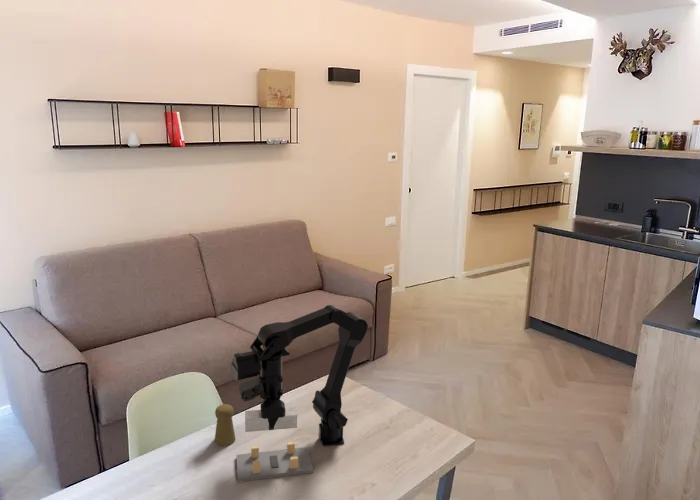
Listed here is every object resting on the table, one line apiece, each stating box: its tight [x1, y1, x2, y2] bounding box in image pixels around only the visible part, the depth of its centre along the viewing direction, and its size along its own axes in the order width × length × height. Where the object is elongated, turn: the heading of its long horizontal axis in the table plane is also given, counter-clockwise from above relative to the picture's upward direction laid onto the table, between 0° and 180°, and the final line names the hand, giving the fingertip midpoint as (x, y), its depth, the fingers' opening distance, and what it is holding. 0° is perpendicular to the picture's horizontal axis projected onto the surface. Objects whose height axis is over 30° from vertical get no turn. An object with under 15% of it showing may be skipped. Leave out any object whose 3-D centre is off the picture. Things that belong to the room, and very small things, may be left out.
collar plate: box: [236, 441, 314, 483], centre depth 145 cm, size 20×10×4 cm, turn 104°
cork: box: [214, 403, 236, 447], centre depth 154 cm, size 6×6×11 cm
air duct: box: [244, 406, 298, 433], centre depth 146 cm, size 14×4×4 cm, turn 102°
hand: (271, 422), depth 146 cm, fingers closed on air duct, 4 cm apart
